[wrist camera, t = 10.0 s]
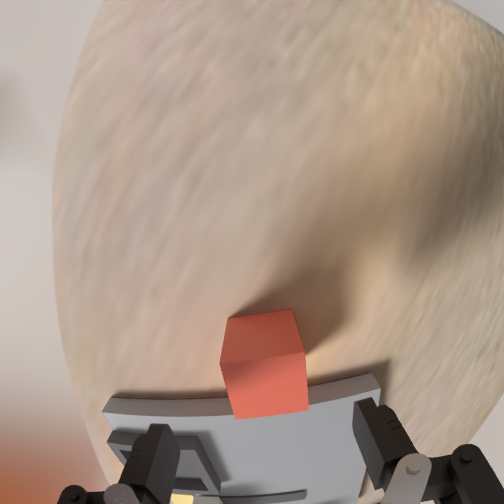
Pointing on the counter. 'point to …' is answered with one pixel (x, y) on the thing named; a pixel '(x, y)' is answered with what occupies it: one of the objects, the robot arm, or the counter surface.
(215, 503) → the block
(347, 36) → the counter surface
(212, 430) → the panel
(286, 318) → the red block
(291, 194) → the counter surface
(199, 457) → the tray
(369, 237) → the counter surface
